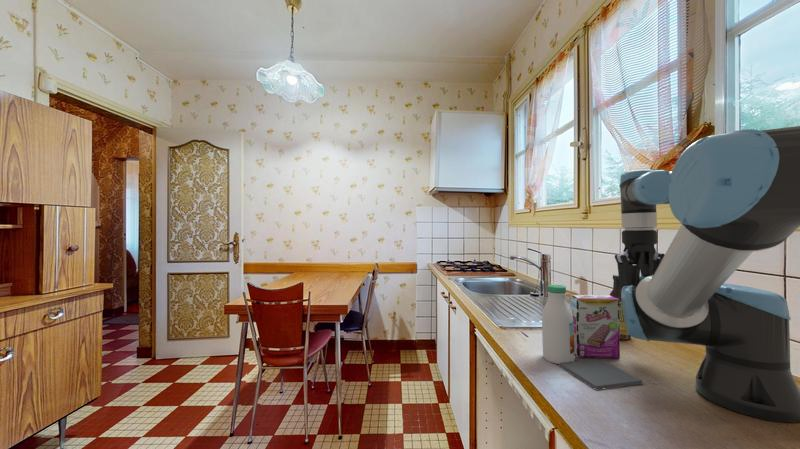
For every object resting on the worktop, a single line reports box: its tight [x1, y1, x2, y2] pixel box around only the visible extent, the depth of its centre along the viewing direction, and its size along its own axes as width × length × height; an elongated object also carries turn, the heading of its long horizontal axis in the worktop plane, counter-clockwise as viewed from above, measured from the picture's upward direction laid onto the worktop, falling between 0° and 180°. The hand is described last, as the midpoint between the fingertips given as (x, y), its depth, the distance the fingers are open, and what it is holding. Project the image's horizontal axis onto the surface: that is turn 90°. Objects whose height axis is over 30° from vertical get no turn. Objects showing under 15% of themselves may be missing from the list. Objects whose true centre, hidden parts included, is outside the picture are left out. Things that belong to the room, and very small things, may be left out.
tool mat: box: [559, 358, 643, 390], centre depth 76 cm, size 12×12×1 cm
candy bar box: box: [569, 294, 621, 359], centre depth 88 cm, size 11×5×16 cm, turn 84°
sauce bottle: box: [609, 273, 632, 340], centre depth 101 cm, size 7×6×20 cm
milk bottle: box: [541, 284, 576, 365], centre depth 86 cm, size 8×8×20 cm
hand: (641, 318), depth 83 cm, fingers closed on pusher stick, 3 cm apart
